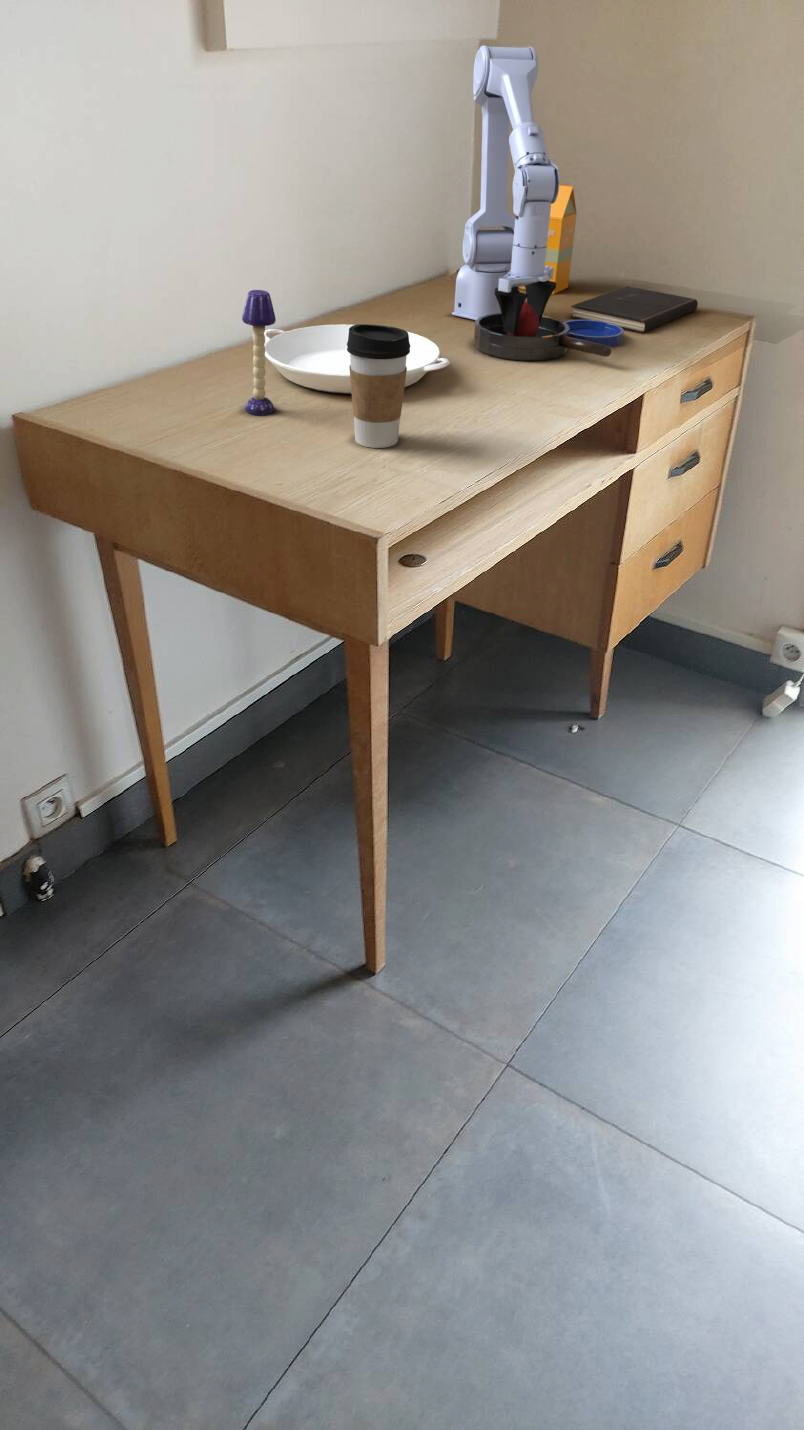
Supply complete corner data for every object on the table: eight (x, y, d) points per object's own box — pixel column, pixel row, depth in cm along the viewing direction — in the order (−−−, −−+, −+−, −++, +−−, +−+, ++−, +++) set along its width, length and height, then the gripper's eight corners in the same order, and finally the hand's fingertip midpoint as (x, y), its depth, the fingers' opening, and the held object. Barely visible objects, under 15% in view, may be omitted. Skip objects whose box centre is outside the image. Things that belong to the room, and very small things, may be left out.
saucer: (545, 338, 191) (546, 328, 190) (578, 326, 199) (579, 316, 198) (602, 351, 185) (603, 341, 184) (633, 338, 193) (635, 328, 192)
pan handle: (554, 346, 180) (555, 335, 179) (559, 344, 181) (560, 333, 180) (607, 359, 175) (609, 348, 174) (612, 356, 176) (614, 345, 175)
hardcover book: (570, 317, 204) (571, 305, 202) (625, 297, 219) (627, 285, 217) (644, 333, 196) (646, 321, 194) (696, 311, 211) (698, 299, 210)
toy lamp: (271, 403, 157) (267, 286, 147) (283, 413, 153) (279, 294, 144) (241, 407, 155) (234, 289, 145) (252, 417, 151) (246, 297, 142)
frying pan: (455, 348, 184) (456, 324, 182) (506, 330, 195) (508, 307, 193) (534, 367, 176) (537, 343, 174) (583, 347, 187) (586, 324, 185)
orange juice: (553, 294, 219) (565, 188, 207) (515, 287, 222) (525, 183, 211) (568, 287, 224) (580, 184, 213) (531, 281, 228) (541, 179, 216)
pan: (216, 379, 165) (214, 351, 163) (305, 337, 186) (305, 311, 184) (408, 417, 154) (409, 387, 151) (480, 367, 175) (482, 340, 173)
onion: (536, 342, 187) (541, 296, 183) (536, 352, 183) (541, 304, 178) (503, 340, 188) (508, 294, 183) (503, 349, 183) (507, 302, 179)
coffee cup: (344, 429, 149) (345, 320, 140) (404, 430, 149) (408, 321, 141) (347, 451, 142) (348, 338, 133) (409, 451, 143) (414, 339, 134)
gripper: (527, 255, 169) (518, 341, 177) (572, 242, 179) (562, 325, 186) (490, 248, 172) (484, 333, 180) (537, 236, 182) (529, 317, 190)
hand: (521, 328), depth 184 cm, fingers open, 7 cm apart
